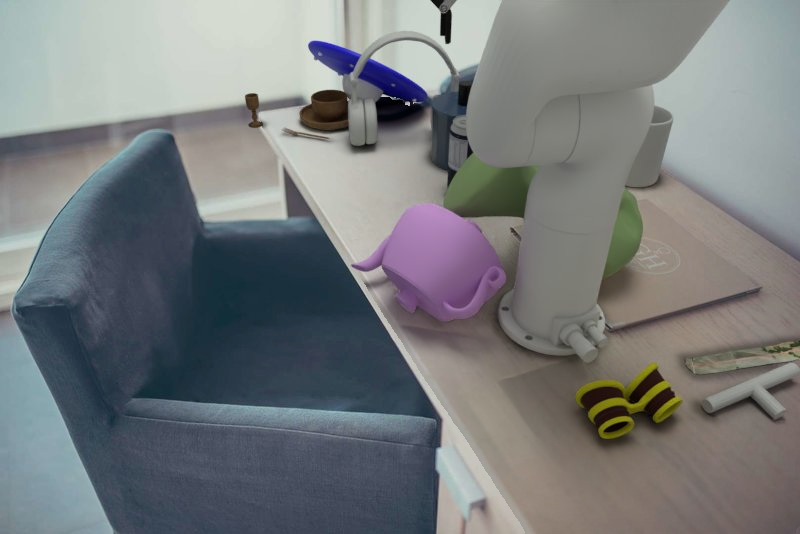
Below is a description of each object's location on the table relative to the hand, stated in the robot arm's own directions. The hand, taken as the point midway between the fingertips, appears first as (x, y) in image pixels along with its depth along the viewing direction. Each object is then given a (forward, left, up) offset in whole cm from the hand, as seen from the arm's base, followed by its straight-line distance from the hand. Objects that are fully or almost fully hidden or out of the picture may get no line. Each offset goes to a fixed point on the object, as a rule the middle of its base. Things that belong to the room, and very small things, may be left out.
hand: (482, 41), depth 88 cm
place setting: (+38, +16, -24) cm, 48 cm away
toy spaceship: (+38, +3, -16) cm, 41 cm away
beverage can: (+1, +1, -24) cm, 24 cm away
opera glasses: (-47, +6, -24) cm, 53 cm away
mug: (-4, -26, -24) cm, 36 cm away
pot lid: (+12, -4, -15) cm, 19 cm away
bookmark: (-45, -15, -24) cm, 54 cm away
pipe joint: (-48, -8, -23) cm, 54 cm away
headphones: (+22, +3, -24) cm, 32 cm away
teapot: (-20, +12, -16) cm, 28 cm away
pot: (+12, -4, -24) cm, 27 cm away
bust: (-17, +9, -7) cm, 20 cm away
